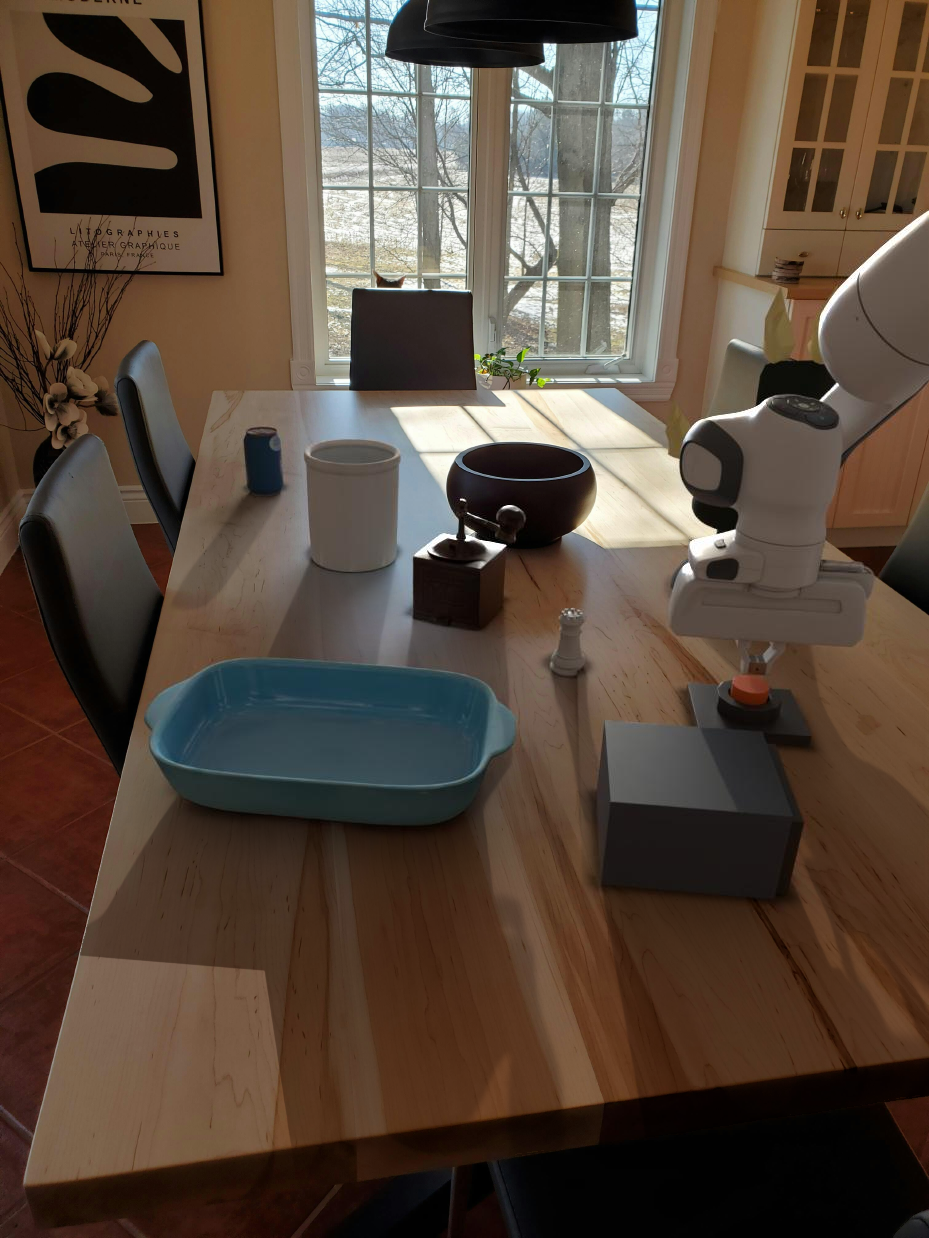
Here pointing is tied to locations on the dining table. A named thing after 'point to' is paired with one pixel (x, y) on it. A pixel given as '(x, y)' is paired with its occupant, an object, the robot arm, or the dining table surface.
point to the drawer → (795, 826)
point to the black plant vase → (762, 396)
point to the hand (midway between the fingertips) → (754, 672)
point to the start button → (750, 690)
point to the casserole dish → (329, 739)
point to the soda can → (263, 461)
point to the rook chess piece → (569, 645)
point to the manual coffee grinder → (464, 573)
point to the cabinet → (690, 810)
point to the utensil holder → (353, 503)
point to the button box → (749, 713)
